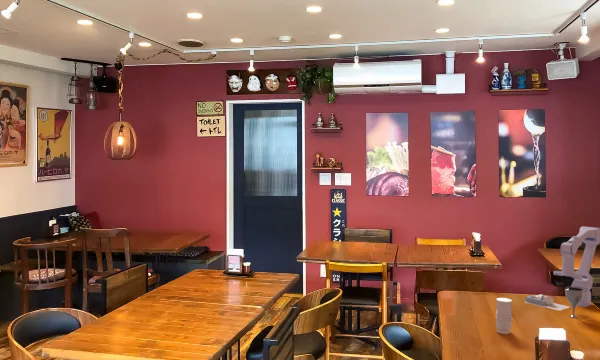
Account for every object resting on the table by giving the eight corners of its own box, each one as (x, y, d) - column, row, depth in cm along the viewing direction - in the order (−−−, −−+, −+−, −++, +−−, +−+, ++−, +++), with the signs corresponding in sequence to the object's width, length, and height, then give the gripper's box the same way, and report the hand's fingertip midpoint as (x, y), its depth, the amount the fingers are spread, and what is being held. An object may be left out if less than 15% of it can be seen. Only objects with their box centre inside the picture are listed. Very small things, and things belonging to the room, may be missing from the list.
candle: (509, 335, 235) (510, 302, 235) (493, 332, 239) (494, 300, 238) (512, 331, 241) (513, 299, 240) (497, 328, 245) (497, 296, 244)
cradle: (535, 299, 295) (535, 294, 295) (570, 308, 279) (570, 302, 279) (523, 303, 288) (523, 297, 288) (559, 311, 272) (559, 306, 272)
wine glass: (584, 321, 257) (585, 291, 256) (567, 319, 258) (568, 290, 258) (579, 316, 265) (580, 287, 264) (562, 315, 266) (563, 286, 265)
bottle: (553, 305, 283) (536, 301, 291) (553, 296, 283) (537, 292, 291) (548, 305, 281) (531, 301, 288) (549, 296, 281) (532, 293, 289)
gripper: (550, 263, 278) (550, 288, 279) (578, 268, 266) (577, 294, 267) (557, 262, 282) (556, 287, 283) (584, 267, 271) (584, 292, 271)
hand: (567, 290), depth 275 cm, fingers closed
